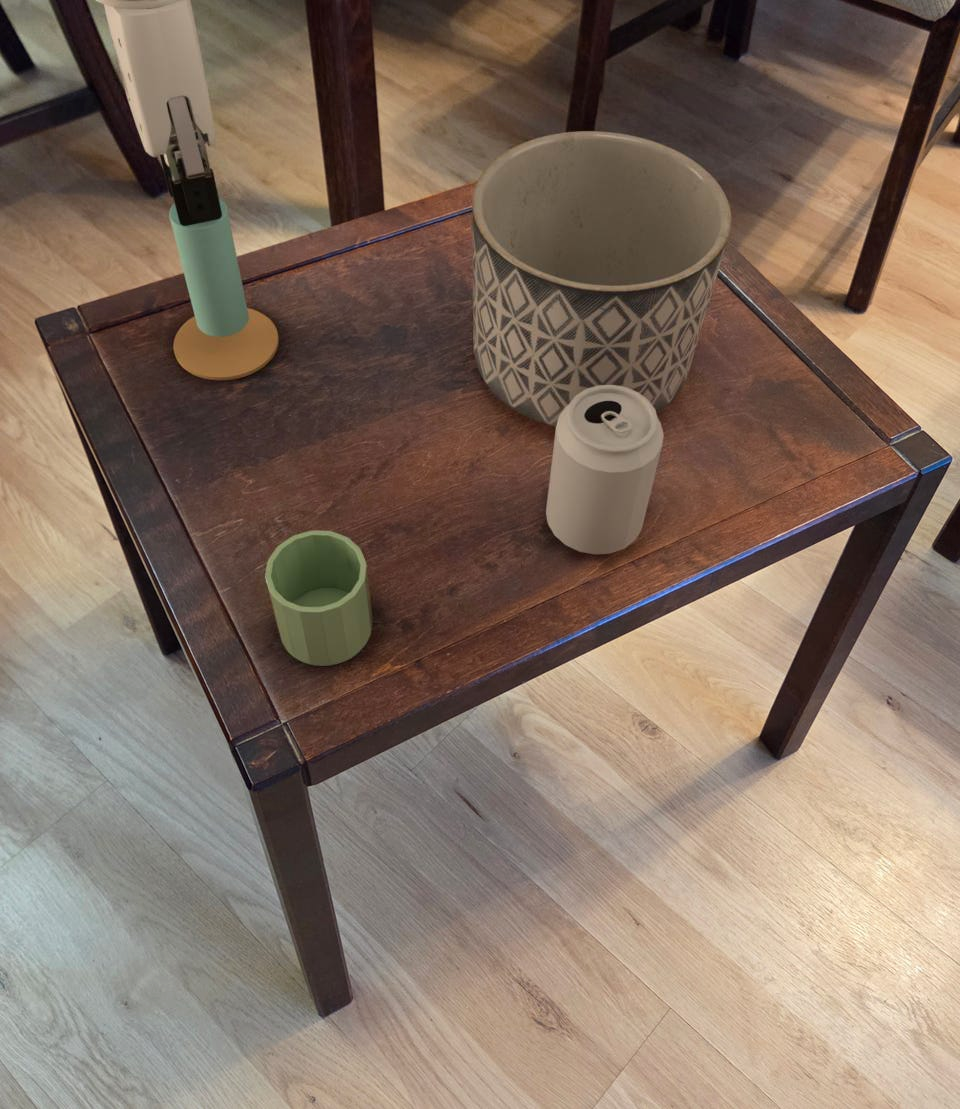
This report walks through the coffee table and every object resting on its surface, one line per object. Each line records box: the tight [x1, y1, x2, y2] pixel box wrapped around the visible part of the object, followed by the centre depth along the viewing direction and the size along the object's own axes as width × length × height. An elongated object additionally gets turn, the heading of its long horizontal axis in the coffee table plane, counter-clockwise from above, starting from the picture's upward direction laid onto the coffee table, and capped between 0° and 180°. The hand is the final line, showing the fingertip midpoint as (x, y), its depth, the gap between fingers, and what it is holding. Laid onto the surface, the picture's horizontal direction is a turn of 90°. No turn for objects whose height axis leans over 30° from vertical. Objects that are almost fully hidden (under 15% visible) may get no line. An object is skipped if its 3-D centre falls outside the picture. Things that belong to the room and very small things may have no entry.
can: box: [545, 385, 665, 555], centre depth 77 cm, size 8×8×12 cm
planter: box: [471, 130, 732, 428], centre depth 85 cm, size 19×19×16 cm
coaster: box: [173, 307, 280, 381], centre depth 92 cm, size 9×9×1 cm
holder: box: [264, 529, 373, 667], centre depth 73 cm, size 7×7×7 cm
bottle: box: [164, 131, 249, 337], centre depth 83 cm, size 4×4×17 cm
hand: (195, 204), depth 81 cm, fingers closed on bottle, 3 cm apart
